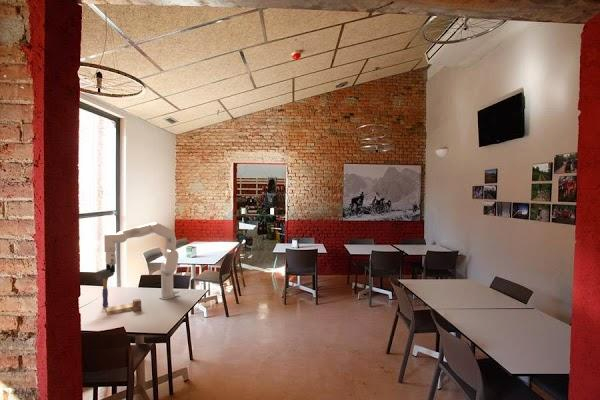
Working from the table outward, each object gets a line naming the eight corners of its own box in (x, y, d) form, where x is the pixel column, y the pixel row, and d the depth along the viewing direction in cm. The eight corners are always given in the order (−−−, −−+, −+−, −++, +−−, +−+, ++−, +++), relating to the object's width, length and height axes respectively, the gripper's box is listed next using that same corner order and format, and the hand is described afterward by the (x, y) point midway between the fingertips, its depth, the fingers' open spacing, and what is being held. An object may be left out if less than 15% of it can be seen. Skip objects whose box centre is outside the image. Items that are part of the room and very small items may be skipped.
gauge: (137, 305, 258) (137, 295, 258) (141, 310, 247) (141, 300, 247) (131, 306, 255) (130, 296, 255) (134, 312, 244) (133, 301, 244)
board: (139, 304, 260) (138, 301, 260) (141, 308, 252) (141, 305, 252) (106, 310, 246) (106, 307, 246) (107, 314, 238) (107, 311, 238)
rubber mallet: (102, 309, 249) (102, 271, 248) (94, 308, 250) (94, 270, 250) (115, 304, 261) (114, 267, 260) (107, 303, 262) (107, 267, 262)
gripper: (119, 250, 247) (119, 272, 247) (111, 247, 259) (112, 268, 259) (108, 251, 241) (108, 274, 242) (101, 248, 253) (101, 270, 254)
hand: (110, 271), depth 251 cm, fingers open, 9 cm apart
